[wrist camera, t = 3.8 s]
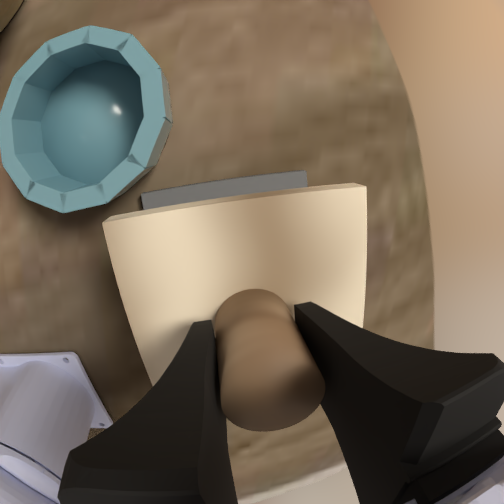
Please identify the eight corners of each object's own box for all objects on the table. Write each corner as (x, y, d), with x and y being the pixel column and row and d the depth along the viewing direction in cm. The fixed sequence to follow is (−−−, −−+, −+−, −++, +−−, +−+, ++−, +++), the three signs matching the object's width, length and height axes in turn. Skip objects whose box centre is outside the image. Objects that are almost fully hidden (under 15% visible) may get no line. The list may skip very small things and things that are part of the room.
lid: (167, 401, 13) (161, 488, 9) (110, 216, 10) (48, 267, 6) (348, 369, 14) (393, 442, 9) (354, 182, 11) (440, 210, 6)
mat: (174, 332, 19) (173, 338, 19) (143, 192, 16) (140, 194, 16) (310, 309, 20) (313, 314, 20) (302, 170, 17) (306, 170, 17)
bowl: (47, 209, 15) (13, 226, 12) (32, 76, 13) (-3, 64, 9) (182, 181, 16) (175, 190, 13) (165, 37, 14) (156, 8, 10)
